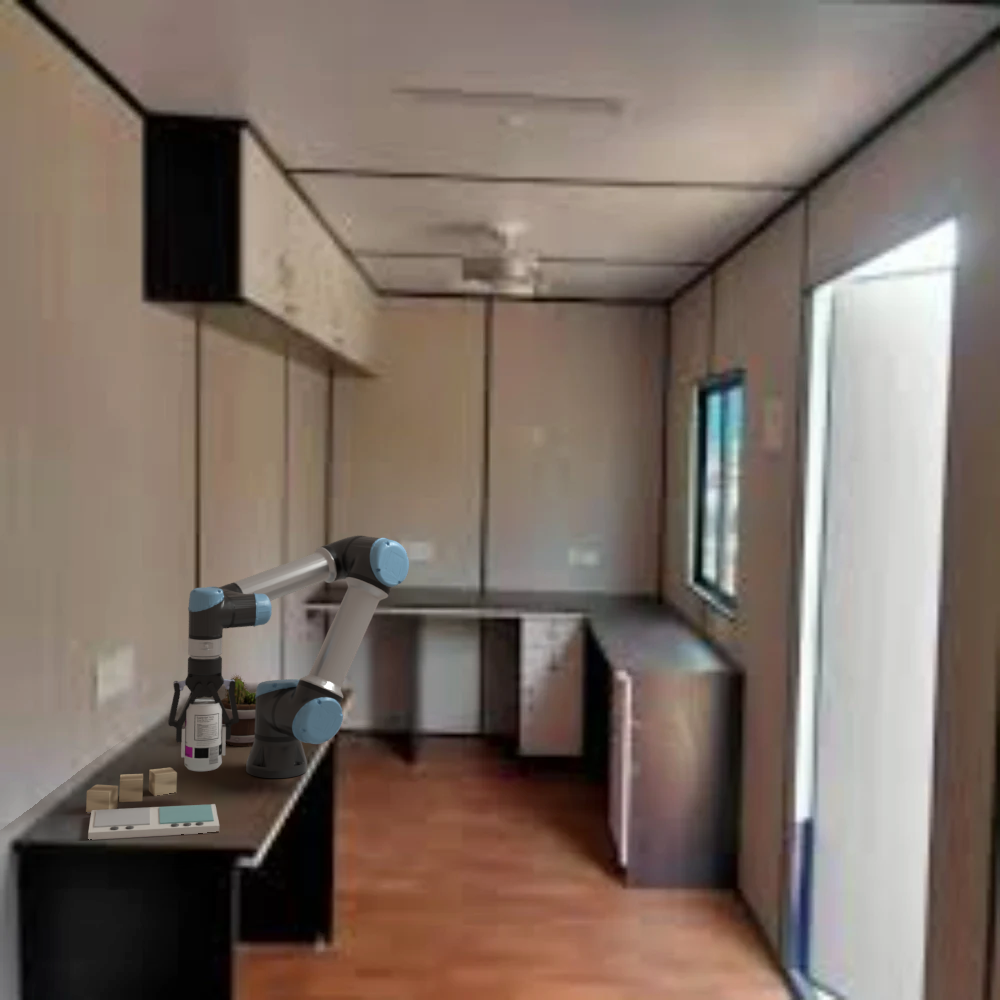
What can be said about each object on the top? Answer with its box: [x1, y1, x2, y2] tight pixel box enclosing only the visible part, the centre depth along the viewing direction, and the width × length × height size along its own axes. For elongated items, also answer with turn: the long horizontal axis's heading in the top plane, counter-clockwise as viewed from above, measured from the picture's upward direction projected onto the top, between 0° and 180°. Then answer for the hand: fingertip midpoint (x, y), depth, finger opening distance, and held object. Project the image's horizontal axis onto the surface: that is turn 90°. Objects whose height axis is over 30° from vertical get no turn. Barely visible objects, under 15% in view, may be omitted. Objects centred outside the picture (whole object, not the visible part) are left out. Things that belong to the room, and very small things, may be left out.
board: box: [87, 803, 220, 841], centre depth 239 cm, size 15×26×2 cm, turn 108°
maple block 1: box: [85, 784, 119, 813], centre depth 247 cm, size 5×5×5 cm
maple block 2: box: [118, 773, 144, 803], centre depth 256 cm, size 5×5×5 cm
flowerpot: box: [221, 674, 256, 747], centre depth 311 cm, size 14×15×20 cm
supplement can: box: [183, 698, 223, 772], centre depth 255 cm, size 8×8×15 cm
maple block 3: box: [148, 767, 178, 797], centre depth 262 cm, size 5×5×5 cm
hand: (203, 754), depth 255 cm, fingers closed on supplement can, 8 cm apart
